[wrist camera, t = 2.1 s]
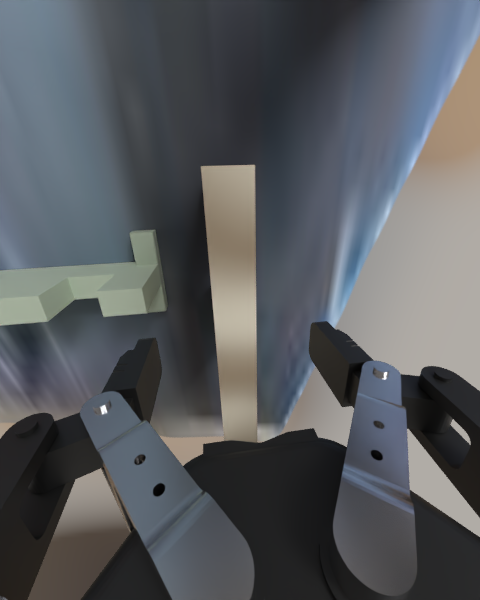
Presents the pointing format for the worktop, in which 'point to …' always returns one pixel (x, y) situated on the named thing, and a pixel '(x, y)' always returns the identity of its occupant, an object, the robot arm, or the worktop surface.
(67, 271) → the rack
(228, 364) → the beige flat panel
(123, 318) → the worktop surface
